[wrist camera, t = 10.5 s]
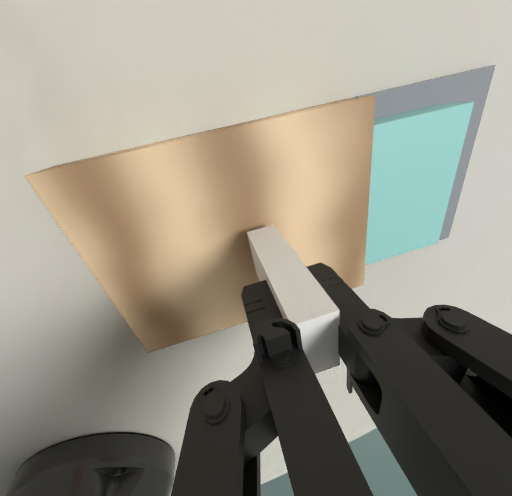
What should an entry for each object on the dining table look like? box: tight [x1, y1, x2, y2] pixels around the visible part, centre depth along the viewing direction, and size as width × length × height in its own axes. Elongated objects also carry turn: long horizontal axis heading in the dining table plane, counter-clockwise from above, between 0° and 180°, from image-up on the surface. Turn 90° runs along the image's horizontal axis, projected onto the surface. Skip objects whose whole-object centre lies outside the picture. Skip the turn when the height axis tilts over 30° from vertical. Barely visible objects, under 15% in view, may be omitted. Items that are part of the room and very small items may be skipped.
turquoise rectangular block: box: [365, 102, 474, 265], centre depth 15 cm, size 6×9×2 cm, turn 12°
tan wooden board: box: [24, 95, 376, 353], centre depth 15 cm, size 16×12×2 cm
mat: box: [355, 65, 495, 240], centre depth 17 cm, size 9×12×1 cm
